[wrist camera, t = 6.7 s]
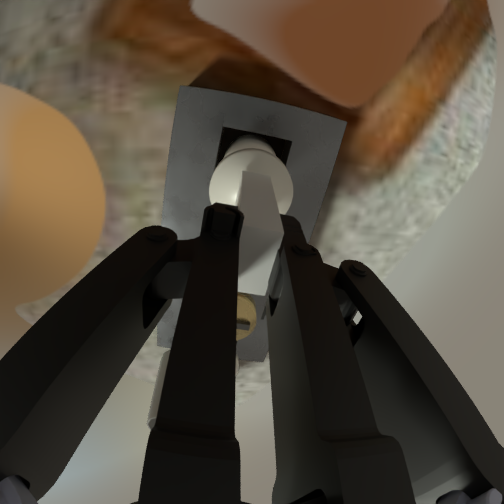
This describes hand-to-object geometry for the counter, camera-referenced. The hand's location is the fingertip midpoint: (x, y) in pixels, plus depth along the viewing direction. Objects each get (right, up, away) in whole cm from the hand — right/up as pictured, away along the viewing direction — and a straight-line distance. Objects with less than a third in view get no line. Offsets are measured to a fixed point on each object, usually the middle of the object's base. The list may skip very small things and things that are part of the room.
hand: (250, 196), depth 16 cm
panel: (-2, -2, +12) cm, 12 cm away
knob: (0, +4, +7) cm, 8 cm away
